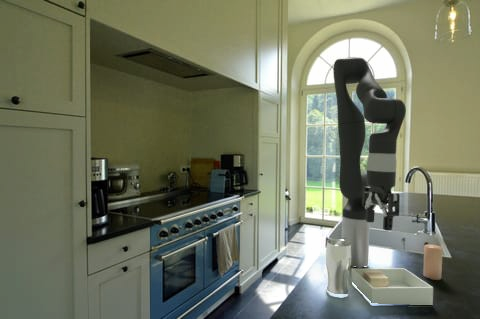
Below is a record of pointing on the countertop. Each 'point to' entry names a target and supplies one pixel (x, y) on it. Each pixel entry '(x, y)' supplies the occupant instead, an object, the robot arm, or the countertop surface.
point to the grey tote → (395, 287)
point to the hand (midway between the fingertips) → (378, 225)
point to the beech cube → (375, 278)
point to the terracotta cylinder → (432, 261)
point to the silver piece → (338, 265)
